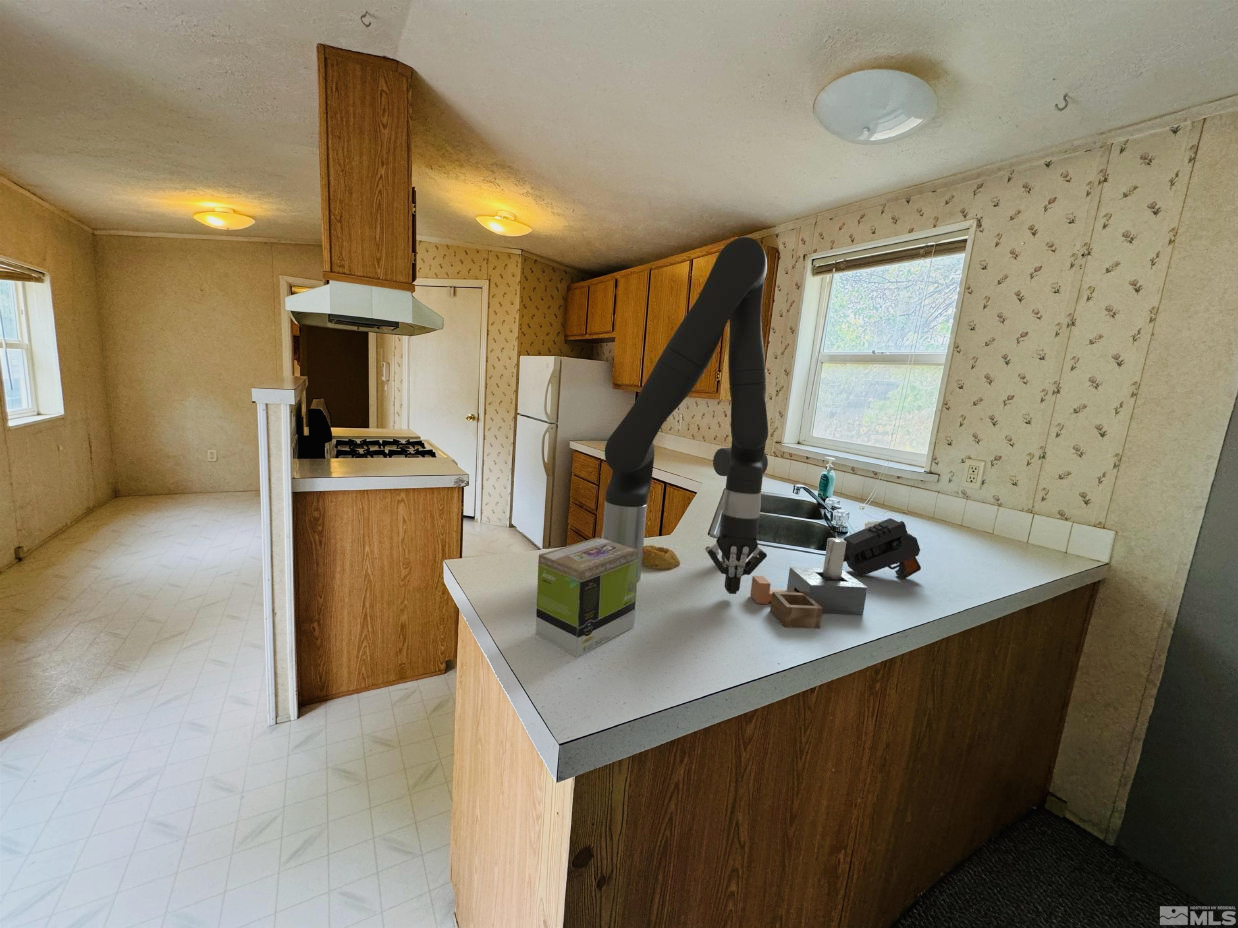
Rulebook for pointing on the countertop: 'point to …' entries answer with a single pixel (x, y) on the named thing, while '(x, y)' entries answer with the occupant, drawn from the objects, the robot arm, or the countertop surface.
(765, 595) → the drift key
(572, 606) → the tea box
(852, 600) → the socket
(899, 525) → the black toy pistol
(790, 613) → the open wooden box
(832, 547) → the tall gray stick
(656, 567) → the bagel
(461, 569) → the countertop surface
